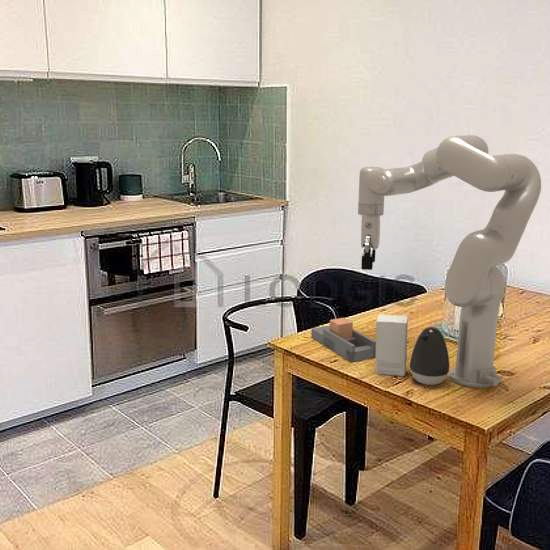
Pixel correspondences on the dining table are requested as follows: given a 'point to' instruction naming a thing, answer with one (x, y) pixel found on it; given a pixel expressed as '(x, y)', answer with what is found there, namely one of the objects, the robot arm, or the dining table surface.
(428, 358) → the egg-shaped speaker
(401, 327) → the skincare box
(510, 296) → the dining table surface
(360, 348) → the trough
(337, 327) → the block
